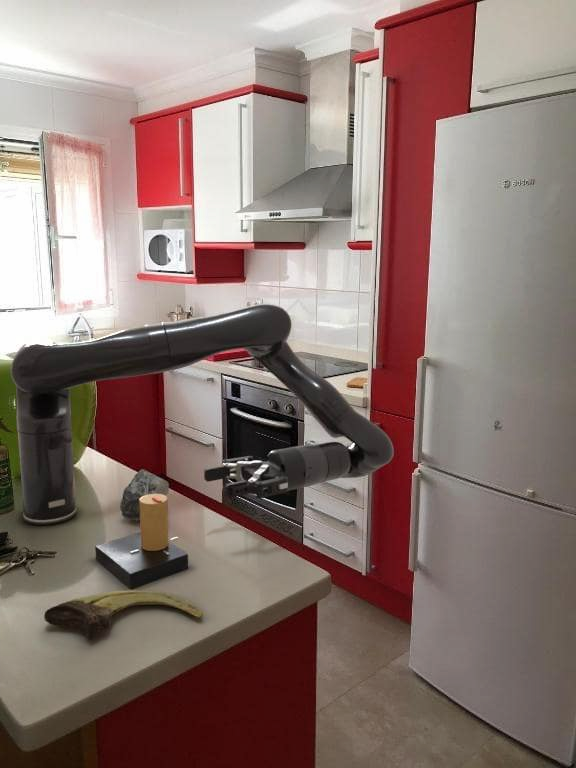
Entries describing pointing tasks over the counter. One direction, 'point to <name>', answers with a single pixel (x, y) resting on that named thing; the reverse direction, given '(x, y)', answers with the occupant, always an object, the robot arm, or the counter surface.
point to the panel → (139, 560)
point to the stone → (141, 492)
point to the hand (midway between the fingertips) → (215, 483)
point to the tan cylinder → (154, 522)
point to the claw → (109, 609)
